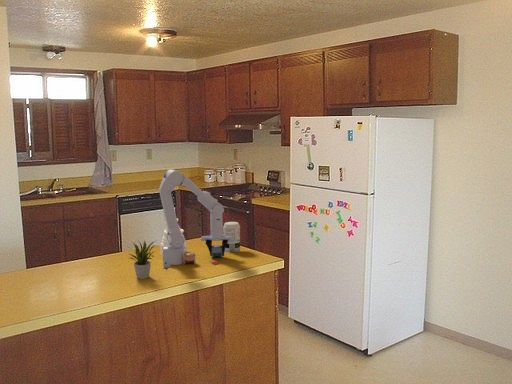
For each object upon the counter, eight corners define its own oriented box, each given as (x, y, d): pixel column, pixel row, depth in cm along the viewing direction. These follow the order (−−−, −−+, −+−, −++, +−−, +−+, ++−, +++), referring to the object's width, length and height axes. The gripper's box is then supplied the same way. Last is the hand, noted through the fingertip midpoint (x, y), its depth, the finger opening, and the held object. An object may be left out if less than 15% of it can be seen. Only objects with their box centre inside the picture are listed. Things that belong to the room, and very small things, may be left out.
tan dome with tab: (183, 268, 221) (183, 255, 220) (185, 265, 226) (185, 252, 225) (194, 268, 221) (194, 255, 220) (196, 265, 226) (195, 252, 225)
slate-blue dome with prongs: (211, 260, 230) (211, 247, 229) (212, 256, 235) (212, 244, 234) (222, 260, 230) (221, 247, 229) (223, 256, 235) (222, 244, 234)
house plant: (168, 273, 215) (167, 236, 212) (153, 283, 202) (152, 244, 199) (139, 270, 219) (137, 234, 216) (122, 280, 205) (120, 242, 203)
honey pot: (192, 252, 247) (191, 217, 245) (175, 258, 237) (173, 222, 234) (173, 249, 254) (171, 214, 252) (155, 254, 243) (154, 219, 241)
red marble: (211, 267, 222) (211, 261, 221) (212, 265, 225) (211, 259, 224) (217, 267, 222) (217, 261, 221) (218, 265, 224) (218, 259, 224)
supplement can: (221, 251, 249) (221, 222, 246) (236, 249, 252) (236, 220, 250) (227, 255, 241) (226, 225, 239) (242, 253, 245) (242, 223, 242)
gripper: (200, 229, 227) (200, 257, 229) (231, 229, 226) (231, 257, 228) (202, 226, 234) (202, 253, 236) (232, 225, 233) (232, 253, 235)
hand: (217, 255), depth 233 cm, fingers closed on slate-blue dome with prongs, 5 cm apart
